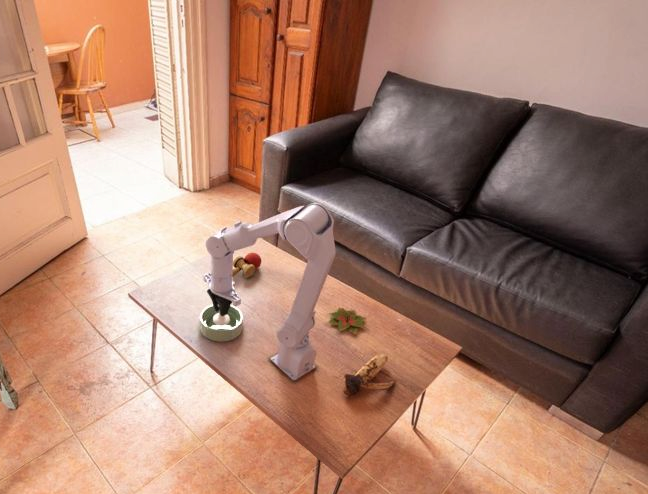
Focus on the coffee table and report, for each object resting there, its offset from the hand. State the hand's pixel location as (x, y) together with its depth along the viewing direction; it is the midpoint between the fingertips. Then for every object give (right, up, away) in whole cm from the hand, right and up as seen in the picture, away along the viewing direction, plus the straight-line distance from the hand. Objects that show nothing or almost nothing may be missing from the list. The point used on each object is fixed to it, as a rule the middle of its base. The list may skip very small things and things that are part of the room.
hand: (221, 312), depth 121 cm
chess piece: (0, -2, +2) cm, 3 cm away
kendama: (+6, +13, +25) cm, 28 cm away
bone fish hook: (+39, -18, -11) cm, 44 cm away
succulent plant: (+38, -3, +7) cm, 38 cm away
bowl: (0, -5, +4) cm, 6 cm away
